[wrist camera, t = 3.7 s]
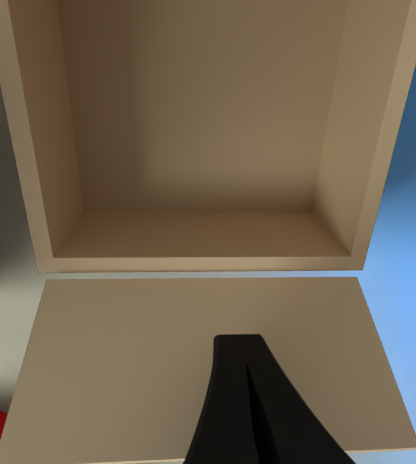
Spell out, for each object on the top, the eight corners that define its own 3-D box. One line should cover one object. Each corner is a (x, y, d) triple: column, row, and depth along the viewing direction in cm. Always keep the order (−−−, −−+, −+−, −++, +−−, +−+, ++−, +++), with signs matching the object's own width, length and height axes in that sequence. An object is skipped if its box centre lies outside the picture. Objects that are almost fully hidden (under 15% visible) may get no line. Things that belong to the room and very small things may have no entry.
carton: (317, 218, 18) (362, 270, 14) (75, 217, 17) (38, 272, 13) (372, -86, 13) (473, -163, 8) (30, -110, 12) (-59, -211, 8)
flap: (356, 276, 13) (352, 282, 14) (45, 279, 12) (49, 285, 13) (420, 446, 10) (412, 450, 10) (-8, 467, 9) (-2, 470, 9)
